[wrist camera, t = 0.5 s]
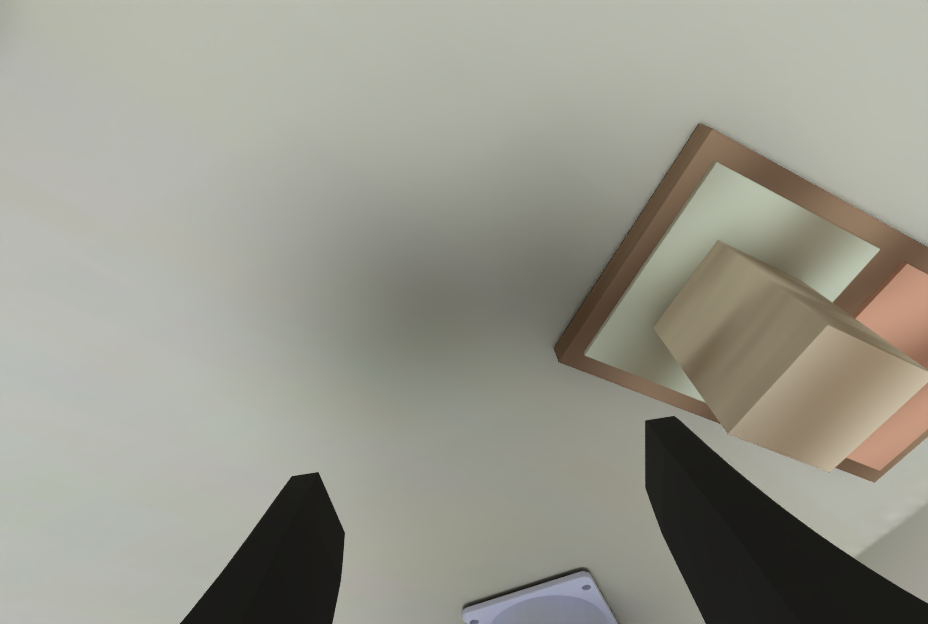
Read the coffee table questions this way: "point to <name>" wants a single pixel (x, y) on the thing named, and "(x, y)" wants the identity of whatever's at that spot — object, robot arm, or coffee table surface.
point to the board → (771, 241)
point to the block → (783, 360)
